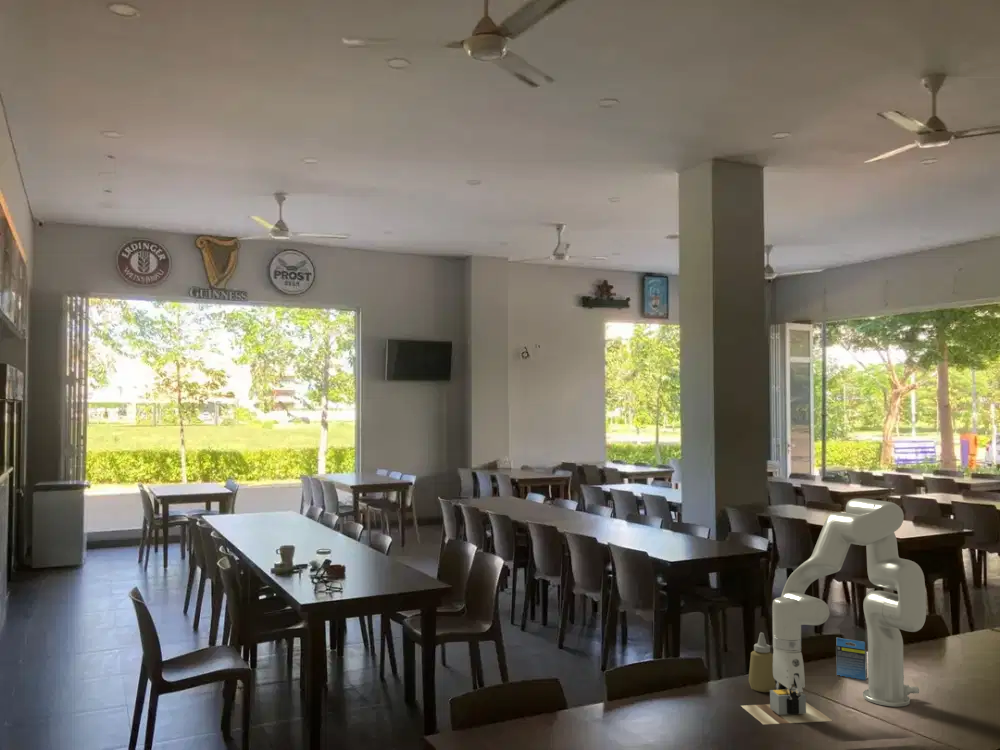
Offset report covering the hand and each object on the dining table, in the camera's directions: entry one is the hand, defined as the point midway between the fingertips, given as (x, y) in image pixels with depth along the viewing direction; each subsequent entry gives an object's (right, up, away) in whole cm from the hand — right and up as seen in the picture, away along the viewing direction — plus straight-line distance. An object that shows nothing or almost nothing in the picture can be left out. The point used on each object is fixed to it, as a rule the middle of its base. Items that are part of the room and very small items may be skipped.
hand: (787, 709), depth 224 cm
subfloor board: (-1, -3, 0) cm, 3 cm away
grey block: (0, 0, 0) cm, 0 cm away
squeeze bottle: (0, -4, +20) cm, 20 cm away
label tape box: (+34, -5, +36) cm, 49 cm away
